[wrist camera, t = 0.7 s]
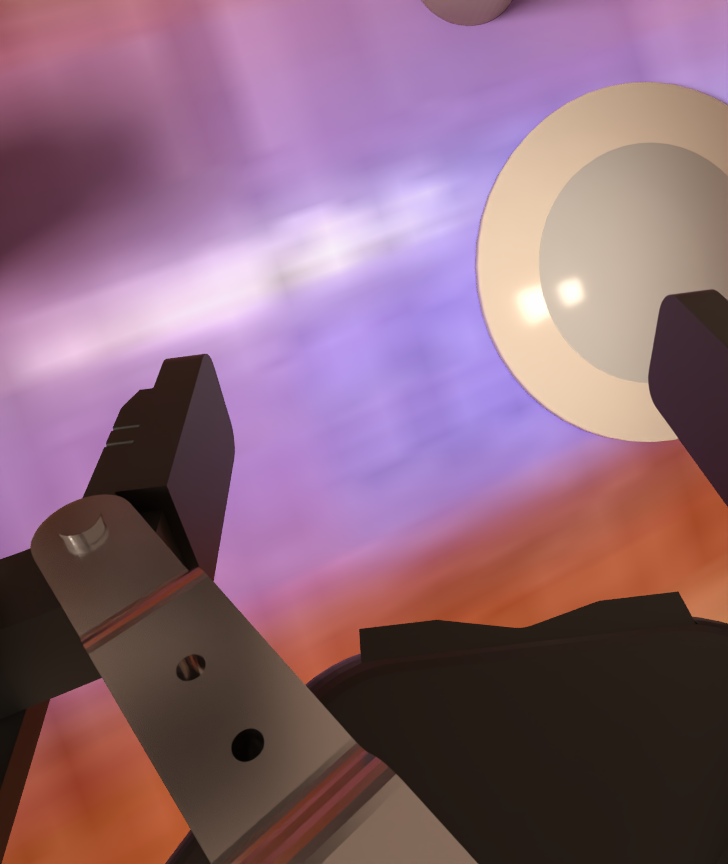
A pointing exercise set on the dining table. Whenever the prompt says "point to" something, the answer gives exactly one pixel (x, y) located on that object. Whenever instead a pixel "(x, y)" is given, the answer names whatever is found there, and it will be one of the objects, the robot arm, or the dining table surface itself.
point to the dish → (603, 247)
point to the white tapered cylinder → (467, 10)
